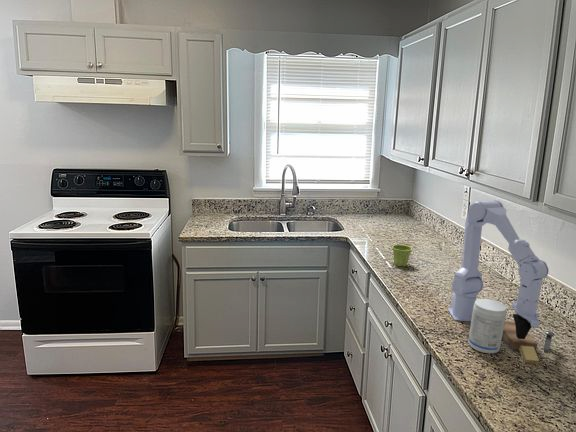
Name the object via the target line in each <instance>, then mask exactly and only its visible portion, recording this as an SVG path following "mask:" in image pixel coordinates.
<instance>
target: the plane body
mask: <svg viewBox="0 0 576 432" xmlns="http://www.w3.org/2000/svg"><path fill="white" fill-rule="evenodd" d="M502 341H503V342H504V343H505V344H506V346H508V348H509V349H510V350H511V351H512V352H513V351H515V352H520V351H519V348H520V346H531V347H534V349H535V352H536V353H537V349H538V342H537V341H536V340H535V339H534V338H533V337H532V336H531V335H530V334H529V333H528V334H527V336H526V338H525V339H518V338H517V336H516V326H515V321H507V320H505V324H504V329H503V335H502Z"/></svg>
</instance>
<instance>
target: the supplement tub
mask: <svg viewBox="0 0 576 432" xmlns="http://www.w3.org/2000/svg"><path fill="white" fill-rule="evenodd" d="M507 309H508V308H507V306H506V305H505V304H504V303H502V302H500V301H498V300H495V299H491V298H478V299H477V298H476V301H475V304H474V308H473V314H472V320H471V322H470V327H469V328H470V329H469V334H468V341H467V342H468V345H469V346H470V347H471V348H472V349H474V350H475V351H478V352H480V353H484V354H496V353H498V352H499V351H500V349H501V345H502V341H503V339H502V335H503V329H504V324H505V321H506V318H507V311H508V310H507Z"/></svg>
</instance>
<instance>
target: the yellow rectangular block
mask: <svg viewBox="0 0 576 432" xmlns="http://www.w3.org/2000/svg"><path fill="white" fill-rule="evenodd" d="M518 352H519V353H520V356H521V359H522V361H523V364H529V365H538V363H539V362H540V359H539V357H538V354H537V351H536V352H535V349H534V347H531V346H520V348H519V351H518Z"/></svg>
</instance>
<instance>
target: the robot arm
mask: <svg viewBox="0 0 576 432" xmlns="http://www.w3.org/2000/svg"><path fill="white" fill-rule="evenodd" d="M467 211H468V212H467V213H468V214H467V215H466V218H465V223H464V225H465V226H464V235H463V246H462V258H461V267H460V268H459V269H458V270H456V271H455V273H454V276H453V279H452V282H451V288H452V290H453V293H452V297H451V302H450V307H448V308H447V310H448V312H449V314H450V315H451V317H452V319H453V320H454V321H459V322H460V321H461V322H470V323H471V320H472V314H473V308H474V304H475V301H476V300H477V296H479V293H480V292H482V290H483V289H484V280H483V273H482V272H481V271H480V270H479V261H480V253H481V252H480V251H481V241H482V231H483V229H482V228H483V226H484V225H486V224H489V225H494V226H495V227H496V229H497V231H499V233H500V234H501V235H502V237H503V238H504V239H505V240H506V242H507V243H508V248H507V249H508V252H509V253H510V254H511V256H512V258H513V260H514V261H515V262H516V265H518V267H517V268H518V269H517V272H518V275H519V282H520V283H519V290H518V293H517V294H518V295H517V299H516V301H512V305H511V307H512V309H514V313H513V314H512V317H513V320H514V321H513V322H515V326H516V336H517V338H518V339H525V338H526V336H527V334H529V332H530V331H531V329H533V328H539V327H540V323H541V322H540V320H539V318H538V316H540V314H541V313H540V312H539V311H538V310H537V309H538V305H539V299H540V295H541V288H542V284H543V279H545V278H546V277H548V275H549V273H550V272H549V267H548V264H547V263H546V261H544V260H541V259H540V258H539V257H538V256H537V255H536V254H535V252H534V251H533V250H532V248H531V247H530V246H531V245H530V243H529V242H527V240H526V239H521V238H520V237H519V235H518V234H517V232H516V230H515V229H514V226H513V225H512V223H511V221H510V220H509V217H508V215H507V209H506V208H505V207H504V205H503V203H502V202H501V201H500V200H497V199H496V200H487V201H486V200H482V201H479V200H476V201H474V202H472V203H471V204H469V205H468V210H467Z"/></svg>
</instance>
